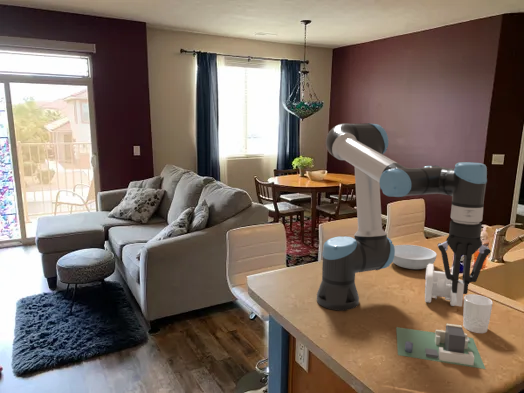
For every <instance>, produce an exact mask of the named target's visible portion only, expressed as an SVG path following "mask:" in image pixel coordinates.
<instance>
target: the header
mask: <svg viewBox="0 0 524 393" xmlns="http://www.w3.org/2000/svg"><path fill="white" fill-rule="evenodd" d="M445 332H446V330H443V329H435V331H434V333H435V344H436V345H439V344H440V343H444V342H445ZM464 334H465V337H466V338H465V347H464V349H467V348H468V339H467V337H468V333H466V332H464ZM438 356H439V360H441V361H448V362H454V363H460V364H466V365H473V364H474V355H473V352H469V351H468V354H463V353H457V352H450V351H444V350H443V348H442V347H439V352H438Z"/></svg>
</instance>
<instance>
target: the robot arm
mask: <svg viewBox="0 0 524 393" xmlns="http://www.w3.org/2000/svg"><path fill="white" fill-rule="evenodd" d="M325 147H326V150H327V151H328V153H329V154H330V155H331V156H333V157H334V158H335V159H337V160H339V161H345V162H347V163H349V164H350V165H352V166H353V168H354V180H355V183H354V184H355V197H356V214H357V215H356V216H357V230H356V232H355V233H354V235H353V236H354V237H352V236H345V235H344V236H334V237H331V238H328V239H327V240H325V242H324V243H323V246H322V248H323V249H322V252H321V253H322V254H321V255H322V267H321V270H322V271H321V272H322V273H321V277H322V278H321V282H320V284H319V287H318V290H317V293H316V301H317V303H318V305H320V306H321V307H323V308H325V309H328V310H333V311H348V310H352V309H355V308H357V307H358V306H359V304H360V303H359V302H360V297H359V292H358V289H357V286H356V283H355V280H356V274H357V273H363V272H371V271H380V270H382V269H386V268H388V267H390V265H391V264H392V263H393V259H394V255H395V248H394V246H395V244H394V243H393V241H392V240H391V238H389V237H388V234H387V232H386V231H385V230H384V229H383V222H382V220H383V219H382V205H381V202H382V201H381V191H382V193H383V195H385V196H387V197H390V198H391V197H395V198H400V197H401V198H403V197H409V196H420V195H421V196H422V195H436V194H437V195H438V194H439V195H444V196H445V195H446V196H449V197H451V207H450V208H451V210H450V218H451V220H449V231H448V232H449V233H448V236H447V238H446V240H445V241H444V242H442V243H441V242H438V244H437V248H438V250H439V251H440V252H441V258H442V264H443V269H444V270H443V271H444V272H445V275H446V278H447V279H448V280H452V288H451V289H452V292H453V293H455V300H454V302H455V304H456V305H455V307H463V302H464V295H468V293H469V292H468V291H469V285H470V283H476V282H477V281H478V279H479V275H480V274H481V271H482V268H483V265H484V263H485V261H486V258H487V257H488V256H489V255H490V254H491V252H492V251H491V249H490V248H489V247H488V246H485V245H483V242H482V240H481V237H482V236H481V235H482V228H483V227H482V223H481V222H482V221H483V215H484V206H485V205H484V204H485V203H484V201H485V195H486V189H487V188H486V187H487V183H488V178H487V175H488V171H487V170H488V169H487V168H488V167H487V166H486V164H484V163H481V162H472V161H471V162H470V161H467V162H466V161H463V162H462V161H461V162H460V161H459V162H457V163H455V165H454V168H453V167H452V168H451V167H446V166H439V165H426V166H425V165H424V166H423V167H413V168H412V167H406V166H404V165H402V164H400V163H399V162H396V161H395V160H393V159H391V158H389V157H388V156H386V155H385V154H386V152H387V150H388V149H387V148H388V147H389V136H388V134H387V131H386V130H385V128H384V127H383V126H381V125H380V124H377V123H370V122H369V123H339V124H337V125H335V126H333V127H332V128H331V129H330V130H329V131H328V133H327V135H326V138H325ZM448 246H449V247H450V249H451V251H452V252H453V264H452V267H453V273H452V274H451V269H450V268H451V267H450V261H449V257H448V253H447V251H448V249H449V248H448ZM477 251H478V252H479V253H478V255H477V257H476V259H475V263H474V265H473V266H472V267H473V268H472V270H471V264H472V259H473V254H475V253H476V252H477ZM462 256H463V257H464V259H463V268H462V269H463V270H462V278H461V279H460V268H461V259H462Z"/></svg>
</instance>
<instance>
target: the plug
mask: <svg viewBox="0 0 524 393" xmlns="http://www.w3.org/2000/svg"><path fill="white" fill-rule="evenodd" d="M445 331H446V332H445V342H444V348H445V351H450V352H457V353H463V354H464V347H465V338H466V337H465V334H466V333H465V332H464V329H463V324H462V325H460V324H456V323H455V324H453V323H446V324H445ZM464 333H465V334H464Z"/></svg>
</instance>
